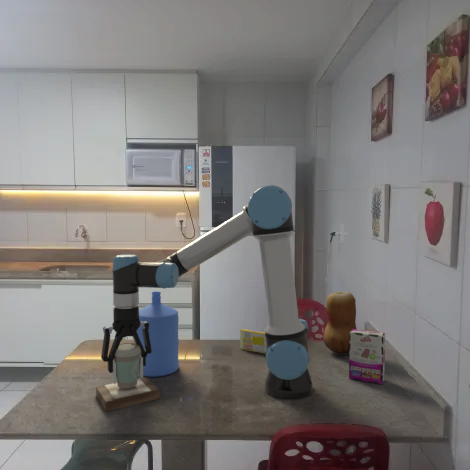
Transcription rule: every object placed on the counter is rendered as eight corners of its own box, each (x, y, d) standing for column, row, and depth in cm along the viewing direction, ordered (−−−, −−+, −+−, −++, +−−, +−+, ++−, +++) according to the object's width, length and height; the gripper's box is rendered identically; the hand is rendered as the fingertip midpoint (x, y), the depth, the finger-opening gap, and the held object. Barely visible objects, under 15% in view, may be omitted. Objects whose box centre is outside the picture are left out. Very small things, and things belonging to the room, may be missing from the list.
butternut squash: (317, 349, 177) (318, 289, 175) (347, 346, 180) (348, 287, 179) (334, 361, 163) (335, 296, 162) (365, 358, 167) (366, 294, 165)
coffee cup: (134, 391, 127) (133, 351, 126) (107, 389, 129) (107, 349, 128) (146, 380, 135) (145, 342, 135) (120, 377, 137) (120, 341, 136)
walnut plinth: (159, 398, 131) (159, 389, 131) (106, 411, 123) (106, 401, 123) (145, 384, 142) (145, 375, 141) (96, 395, 133) (96, 386, 133)
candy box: (277, 354, 171) (277, 334, 170) (275, 356, 169) (275, 335, 169) (242, 347, 179) (242, 328, 179) (239, 349, 177) (239, 329, 177)
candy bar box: (384, 379, 146) (385, 332, 145) (382, 385, 142) (384, 336, 141) (351, 373, 151) (352, 328, 150) (348, 379, 147) (349, 331, 146)
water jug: (187, 367, 157) (187, 291, 155) (157, 381, 144) (156, 299, 142) (156, 358, 166) (155, 286, 164) (125, 371, 153) (124, 293, 151)
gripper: (154, 299, 139) (154, 368, 140) (88, 307, 128) (90, 382, 130) (162, 304, 132) (163, 376, 134) (94, 312, 122) (96, 391, 123)
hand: (127, 379), depth 132 cm, fingers closed on coffee cup, 8 cm apart
